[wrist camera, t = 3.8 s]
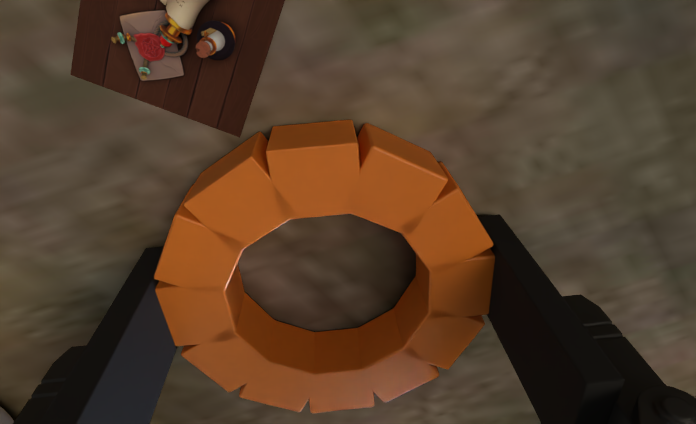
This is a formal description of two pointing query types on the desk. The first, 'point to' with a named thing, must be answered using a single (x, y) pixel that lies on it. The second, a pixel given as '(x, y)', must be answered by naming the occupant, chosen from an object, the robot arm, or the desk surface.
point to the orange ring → (313, 201)
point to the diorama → (178, 53)
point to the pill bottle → (5, 417)
